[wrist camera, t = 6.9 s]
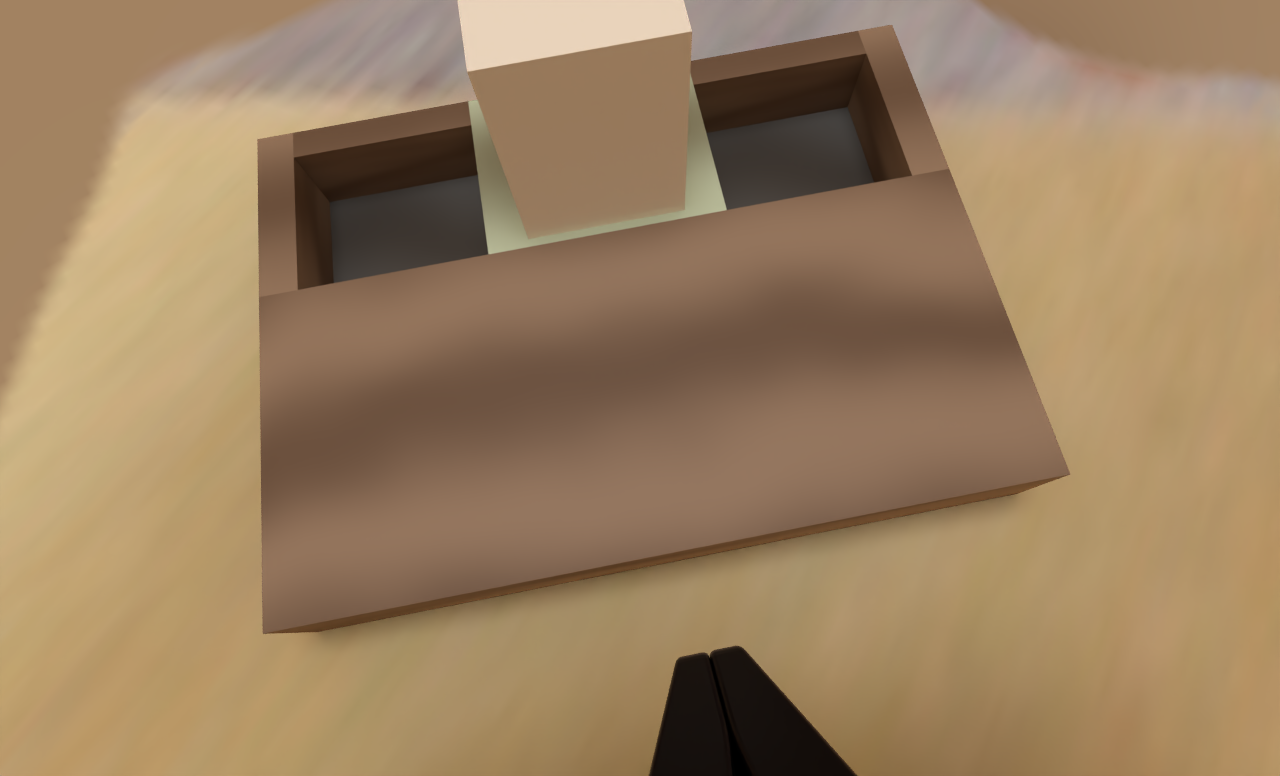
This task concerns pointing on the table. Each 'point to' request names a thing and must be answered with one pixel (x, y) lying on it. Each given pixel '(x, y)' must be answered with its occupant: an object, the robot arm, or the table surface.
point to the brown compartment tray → (624, 347)
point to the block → (584, 105)
